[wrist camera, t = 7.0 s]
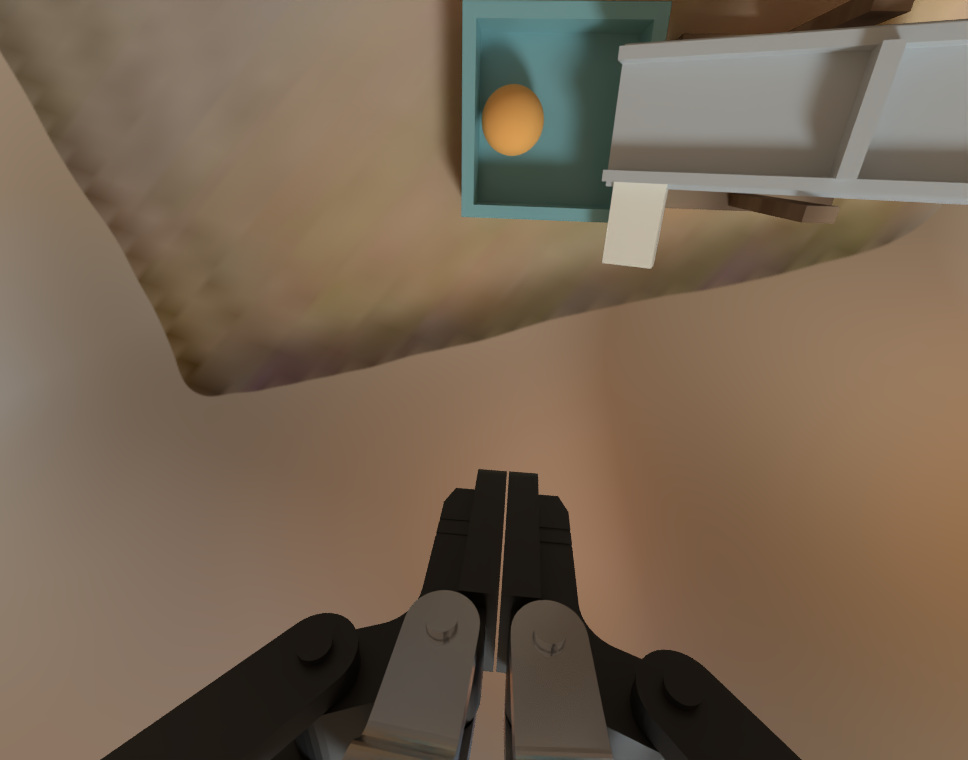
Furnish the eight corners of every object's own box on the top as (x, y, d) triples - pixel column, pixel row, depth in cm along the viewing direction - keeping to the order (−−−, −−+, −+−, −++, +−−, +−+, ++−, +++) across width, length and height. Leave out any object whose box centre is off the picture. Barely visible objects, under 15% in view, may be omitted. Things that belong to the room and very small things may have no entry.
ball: (540, 89, 30) (480, 87, 29) (552, 80, 26) (484, 77, 26) (536, 156, 31) (479, 155, 31) (546, 156, 28) (482, 154, 28)
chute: (979, 53, 24) (1108, -5, 16) (886, 271, 29) (947, 311, 21) (647, 70, 30) (617, 34, 22) (620, 244, 35) (587, 266, 27)
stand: (879, 39, 27) (1058, -23, 18) (820, 212, 32) (939, 233, 23) (678, 37, 28) (752, -23, 19) (648, 206, 33) (696, 224, 23)
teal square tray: (470, 19, 29) (462, 0, 25) (654, 21, 28) (672, 1, 24) (468, 210, 34) (461, 216, 30) (623, 216, 33) (634, 223, 30)
